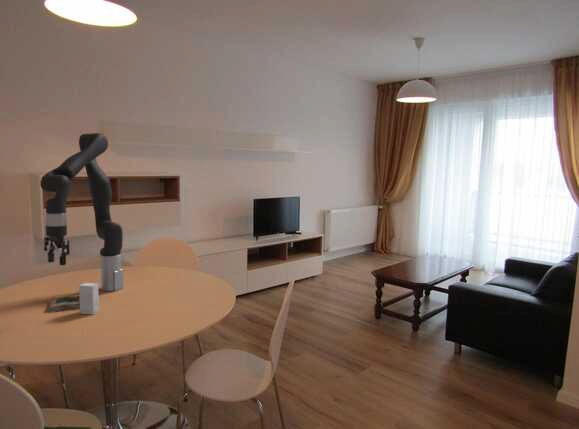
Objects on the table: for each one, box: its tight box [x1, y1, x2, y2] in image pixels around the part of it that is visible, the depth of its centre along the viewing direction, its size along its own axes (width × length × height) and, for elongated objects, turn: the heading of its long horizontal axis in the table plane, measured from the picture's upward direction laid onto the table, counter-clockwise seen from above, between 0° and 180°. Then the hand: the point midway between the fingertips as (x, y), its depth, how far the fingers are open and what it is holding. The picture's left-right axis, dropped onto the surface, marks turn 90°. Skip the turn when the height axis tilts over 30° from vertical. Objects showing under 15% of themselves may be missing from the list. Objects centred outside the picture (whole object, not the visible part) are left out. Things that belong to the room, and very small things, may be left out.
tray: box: [48, 294, 80, 313], centre depth 176 cm, size 13×13×2 cm
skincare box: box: [78, 282, 100, 315], centre depth 168 cm, size 6×4×12 cm
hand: (56, 263), depth 166 cm, fingers open, 8 cm apart
